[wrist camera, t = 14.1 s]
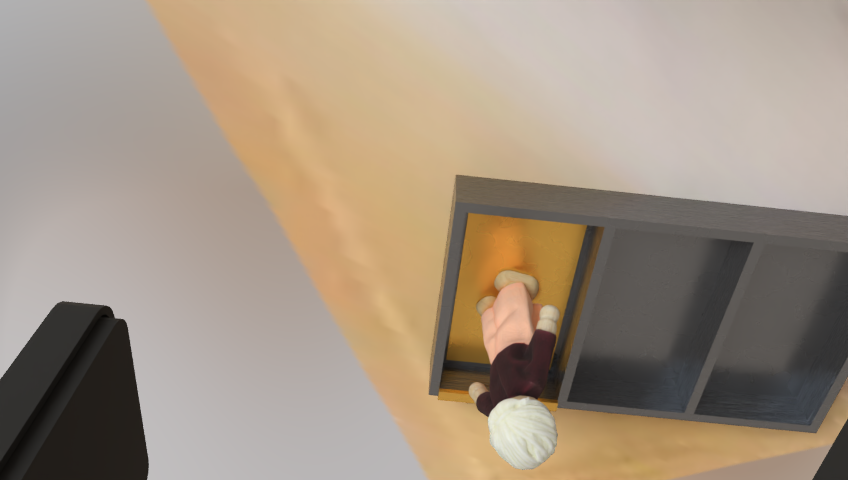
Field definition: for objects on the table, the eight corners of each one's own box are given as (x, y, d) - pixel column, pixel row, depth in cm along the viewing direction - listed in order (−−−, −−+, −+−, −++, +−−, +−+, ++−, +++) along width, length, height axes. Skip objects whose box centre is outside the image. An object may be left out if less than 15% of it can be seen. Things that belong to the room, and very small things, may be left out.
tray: (890, 220, 42) (920, 253, 40) (797, 399, 50) (817, 437, 47) (455, 174, 42) (455, 204, 39) (430, 363, 50) (428, 398, 47)
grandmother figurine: (516, 346, 48) (532, 516, 37) (459, 329, 47) (459, 497, 36) (567, 253, 44) (602, 413, 33) (506, 233, 43) (522, 390, 32)
